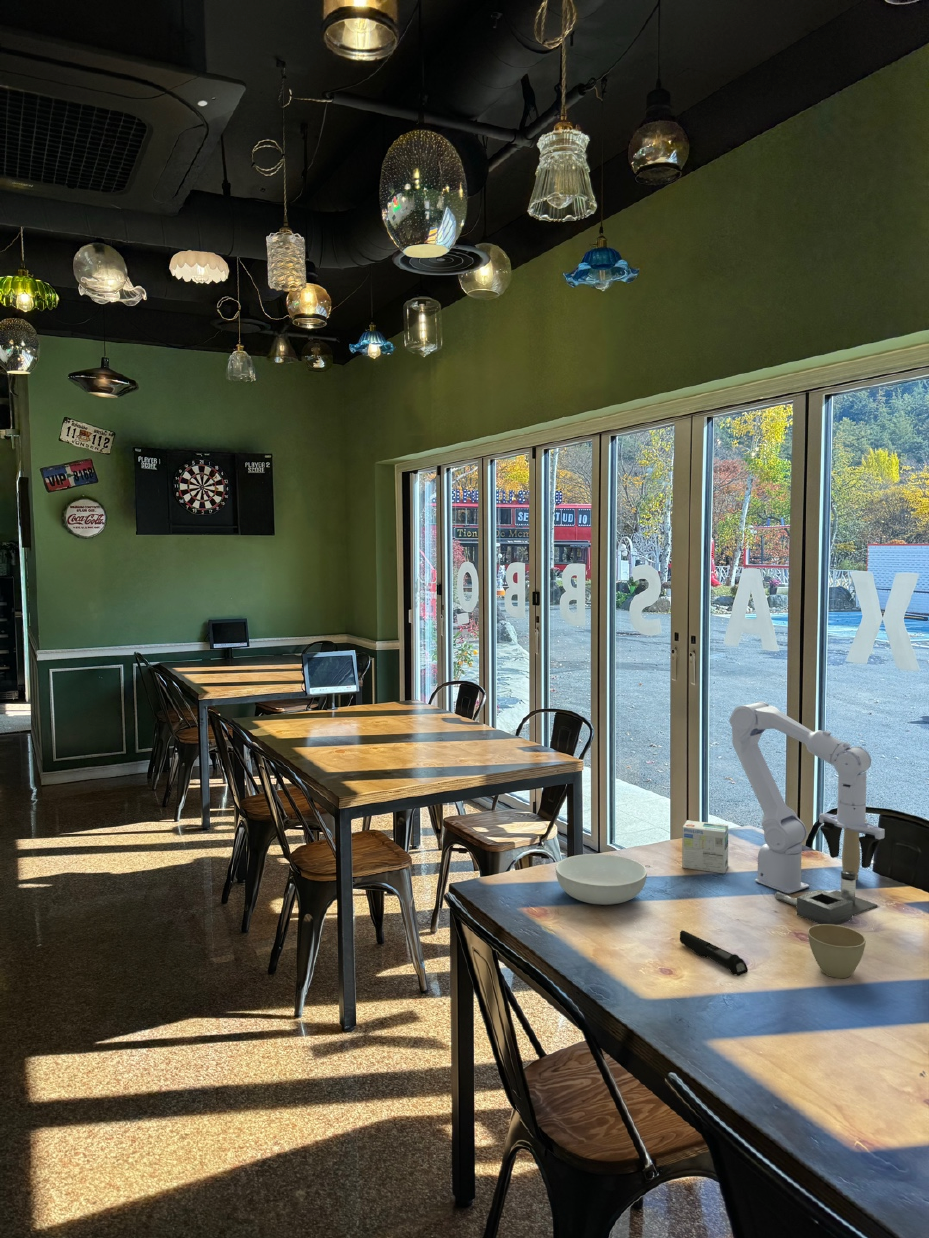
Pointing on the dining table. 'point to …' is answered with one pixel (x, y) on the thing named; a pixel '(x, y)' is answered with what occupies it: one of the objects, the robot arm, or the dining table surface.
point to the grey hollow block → (821, 907)
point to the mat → (858, 904)
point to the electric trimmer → (714, 953)
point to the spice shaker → (848, 885)
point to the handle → (851, 851)
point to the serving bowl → (601, 878)
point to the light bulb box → (705, 846)
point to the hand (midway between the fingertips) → (850, 861)
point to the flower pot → (836, 949)
